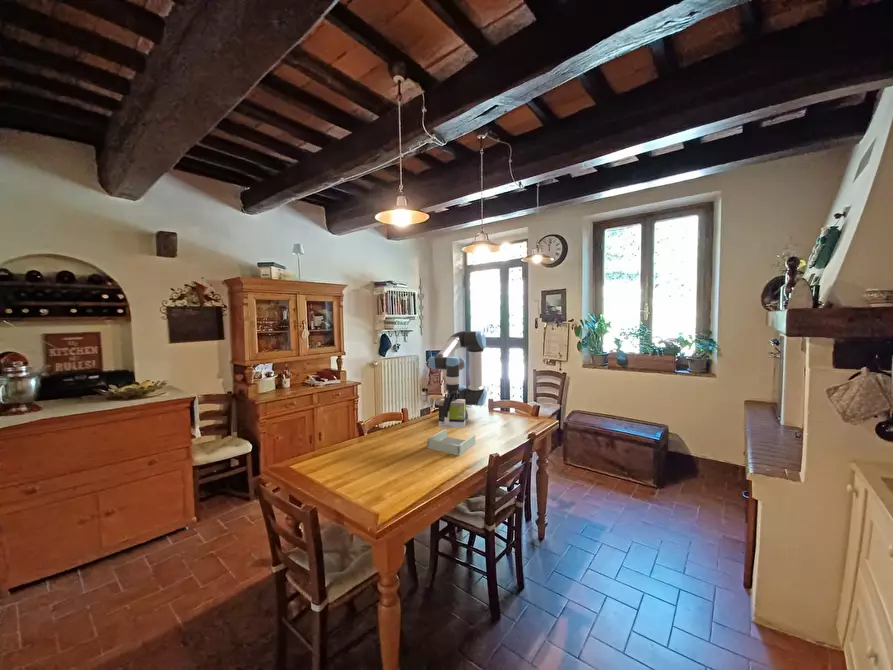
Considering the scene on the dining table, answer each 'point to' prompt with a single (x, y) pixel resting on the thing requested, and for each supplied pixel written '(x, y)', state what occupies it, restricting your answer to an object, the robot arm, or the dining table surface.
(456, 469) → the dining table surface
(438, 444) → the grey tray
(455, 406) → the tea box
